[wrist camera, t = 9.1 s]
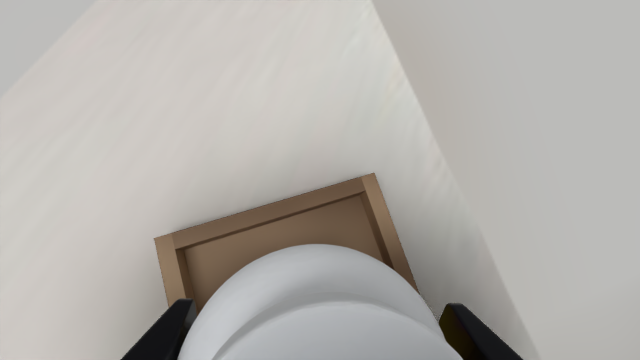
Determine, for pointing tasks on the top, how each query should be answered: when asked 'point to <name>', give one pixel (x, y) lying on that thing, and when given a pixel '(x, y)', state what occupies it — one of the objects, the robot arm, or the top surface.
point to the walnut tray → (280, 237)
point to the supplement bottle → (316, 312)
